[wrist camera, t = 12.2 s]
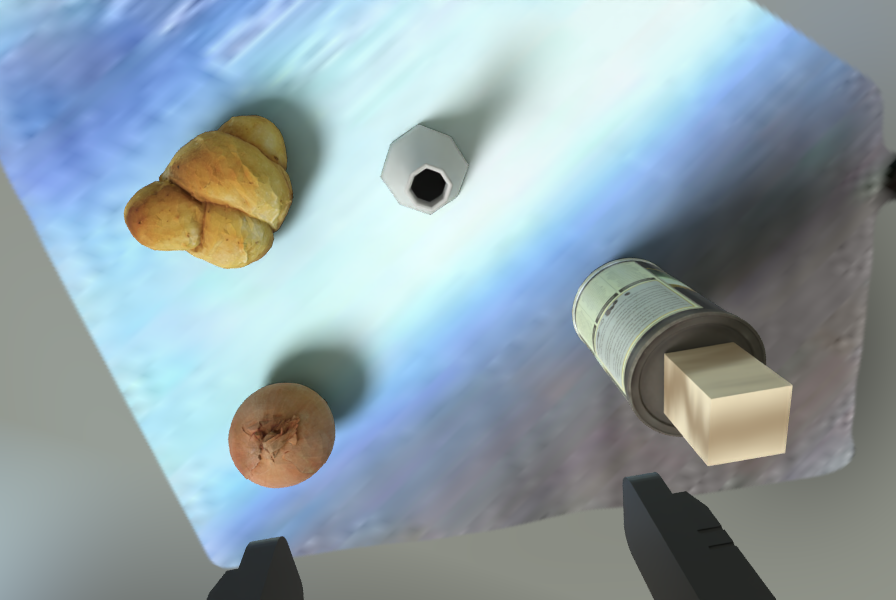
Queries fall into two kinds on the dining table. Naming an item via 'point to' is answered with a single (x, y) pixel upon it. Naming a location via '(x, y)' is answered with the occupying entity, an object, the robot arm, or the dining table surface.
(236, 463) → the onion
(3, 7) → the dining table surface
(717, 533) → the robot arm
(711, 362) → the maple block
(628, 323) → the coffee can
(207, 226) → the bread roll
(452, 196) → the flask
